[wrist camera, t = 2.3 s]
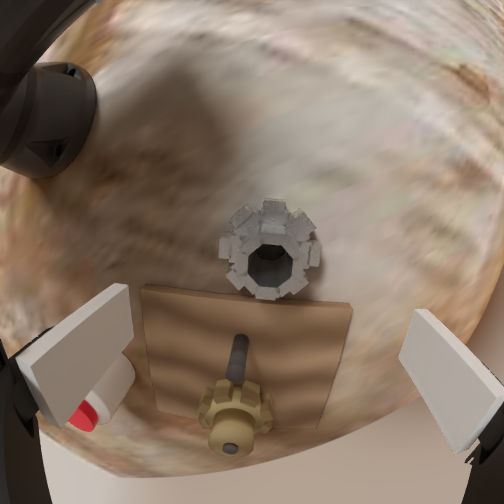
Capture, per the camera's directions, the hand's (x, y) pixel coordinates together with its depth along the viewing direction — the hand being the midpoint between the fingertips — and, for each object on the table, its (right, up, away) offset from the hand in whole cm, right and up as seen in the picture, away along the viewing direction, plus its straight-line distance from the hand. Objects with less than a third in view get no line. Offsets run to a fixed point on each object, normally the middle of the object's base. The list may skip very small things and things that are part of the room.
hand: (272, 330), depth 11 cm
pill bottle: (-20, -13, +21) cm, 32 cm away
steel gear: (+1, +4, +15) cm, 16 cm away
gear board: (-2, -10, +19) cm, 22 cm away
